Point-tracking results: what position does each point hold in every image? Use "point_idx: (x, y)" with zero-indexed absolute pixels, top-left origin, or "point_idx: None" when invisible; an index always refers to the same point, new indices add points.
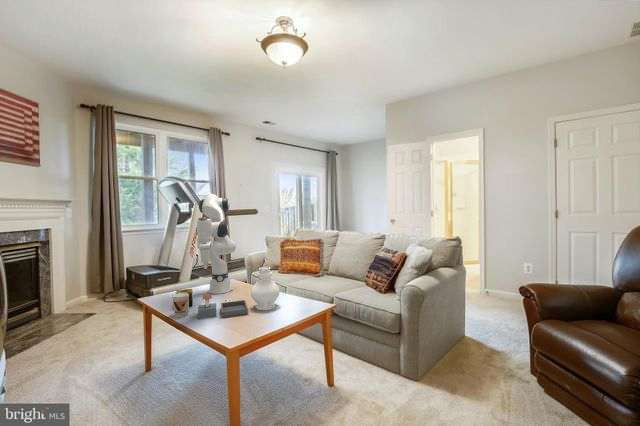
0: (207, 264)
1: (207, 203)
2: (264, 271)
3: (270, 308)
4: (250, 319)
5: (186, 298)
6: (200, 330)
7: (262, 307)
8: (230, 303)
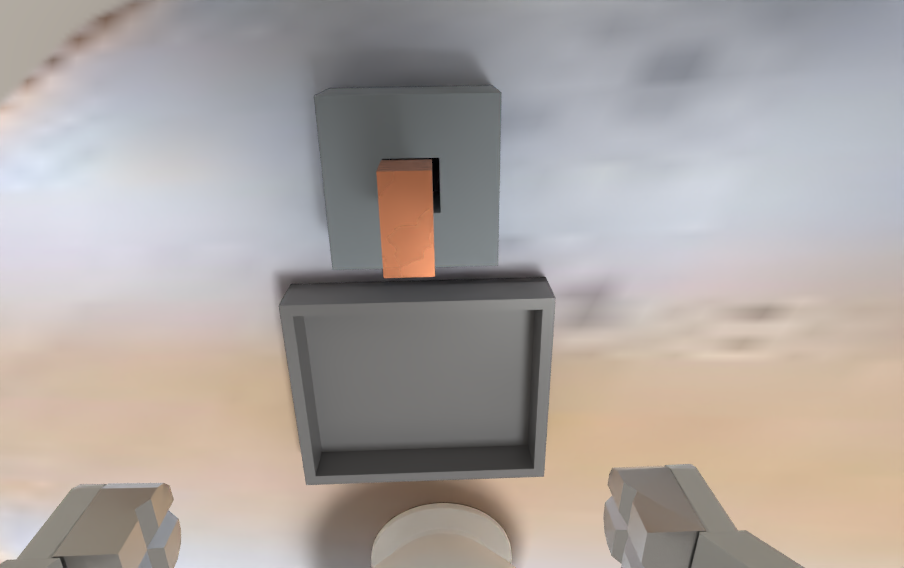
0: (621, 559)
1: None
2: None
3: None
4: (210, 461)
5: None
6: (39, 128)
7: (397, 546)
8: (536, 366)
